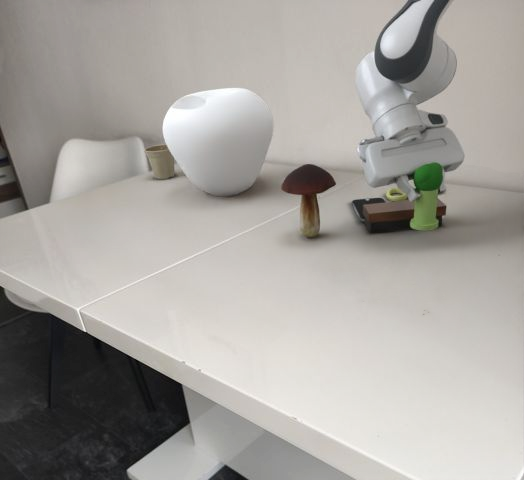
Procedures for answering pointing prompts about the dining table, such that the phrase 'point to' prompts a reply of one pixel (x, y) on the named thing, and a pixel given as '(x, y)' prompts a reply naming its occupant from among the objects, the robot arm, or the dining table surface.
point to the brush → (394, 215)
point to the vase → (219, 138)
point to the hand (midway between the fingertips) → (429, 196)
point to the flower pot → (161, 161)
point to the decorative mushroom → (308, 194)
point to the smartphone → (360, 202)
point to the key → (397, 198)
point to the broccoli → (427, 196)
